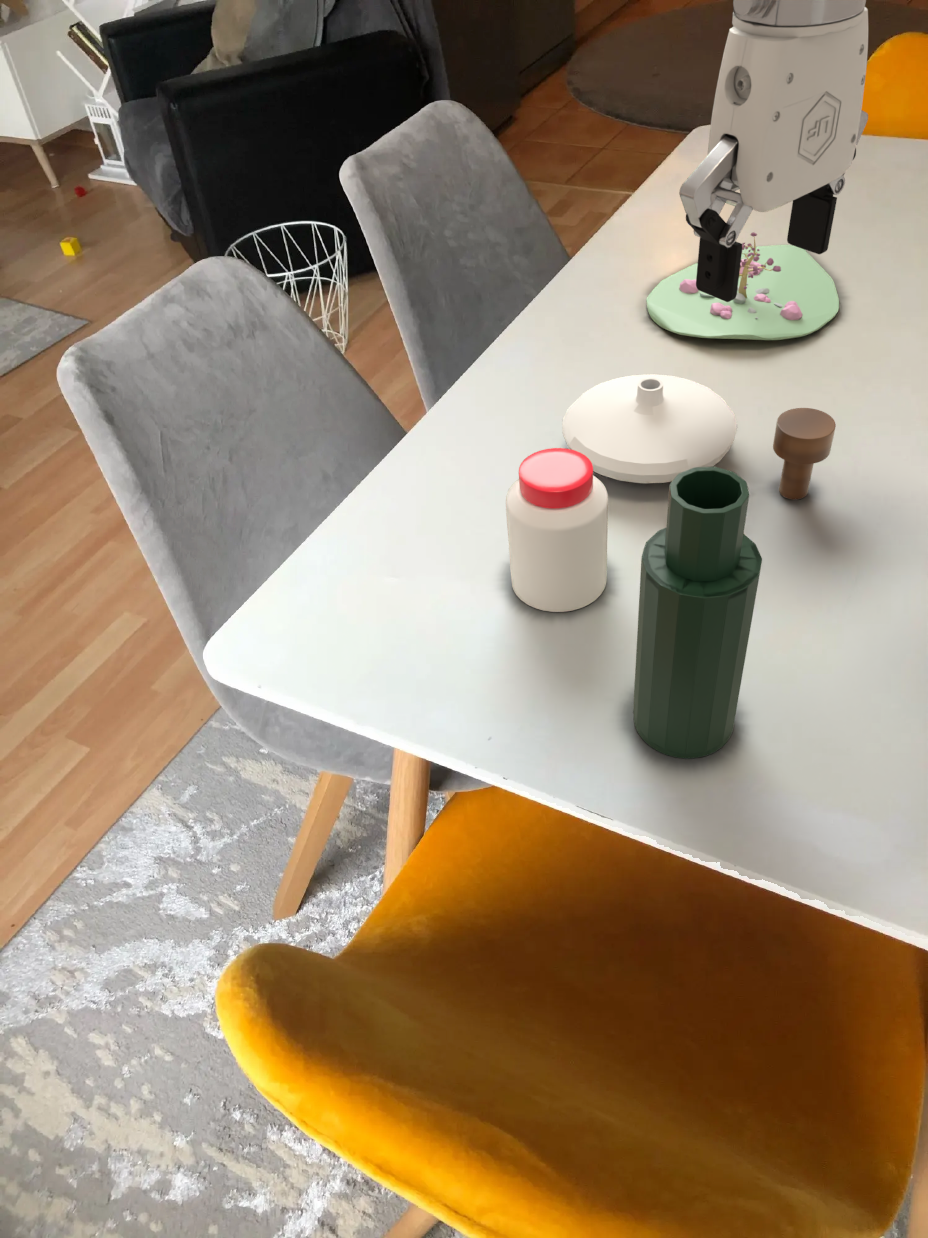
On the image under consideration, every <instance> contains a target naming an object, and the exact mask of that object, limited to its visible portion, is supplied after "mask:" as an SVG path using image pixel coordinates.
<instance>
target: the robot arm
mask: <svg viewBox="0 0 928 1238" xmlns="http://www.w3.org/2000/svg"><path fill="white" fill-rule="evenodd" d="M866 2H867V0H733V1H732V5H733V8H732V10H733V11H732V20H731V25H732V27H730V28H729V30H728V33H727V38H726V41H725V46H724V50H723V54H722V59H721V63H720V68H719V72H718V78H717V83H716V88H715V94H714V99H713V106H712V111H711V119H710V128H709V133H708V134H709V135H708V143H707V145H708V146H707V154H706V157H705V158H704V159H703V160H702V161H701V162H700V163H699V164H698V165H697V167H696V168H695V169H694V170H693V171H692V173H690V175H689V176H688V177H687V179H685V181H684V182H682V184H681V185H680V189H679V193H678V194H679V198H680V201H681V204H682V206H683V209H684V213H685V221H686V223H687V224H688V225H689V226H690V227H691V228H692V229H693V235H694V236H695V237H697V238H699V244H698V256H697V262H698V265H697V277H696V287H697V289H698V290H699V291H701V292H704V293H706V294H709V295H711V296H714V297H716V298H718V299H721V300H723V301H726V302H730V301H731V300H733V299H735V298H736V295H737V289H738V281H739V272H740V264H741V255H742V245H743V243H741V242H739V241H737V239H738V238H739V236H740V234H741V232H742V231H743V229H744V226H745V225H746V223H747V221H748V220H749V217H750V216H751V214H752V212H753V210H754V211H755V212H759V213H768V212H771V211H774V210H775V209H778V208H781V207H782V206H784V205H787V204H789V203H791V202H792V203H791V209H790V210H791V211H790V218H789V222H788V223H789V224H788V230H787V236H786V241H787V243H788V245H793V246H796V247H799V248H802V249H805V251H806V252H810V253H814V254H816V255H822V254H824V253H825V252H827V251H828V249H829V244H830V238H831V234H832V230H833V229H832V228H833V222H834V218H835V213H836V212H835V211H836V207H837V200H838V197H837V196H838V195H839V194H841V193H842V191H843V190H844V188H845V186H846V185H845V184H846V179H845V174H846V172H847V171H849V169H850V168H851V166H852V164H853V161H854V160H855V159H856V156H857V146H858V144H859V142H860V139H861V137H862V135H863V133H864V130H865V128H866V126H867V123H868V121H869V114H868V112H866V111H865V110H862V109H863V100H864V92H865V83H866V77H867V76H866V75H867V65H868V52H869V51H868V50H869V9H868V8H867V7H866ZM737 191H739V192H737ZM726 204H727V205H730V206H733V210H732V211H731V213H730V215H729V217H728V219H727V221H725V220H724V218H722V217H721V215H720V214H721V212H722V210H723V208H724V206H725V205H726Z"/></svg>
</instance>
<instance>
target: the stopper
mask: <svg viewBox="0 0 928 1238" xmlns="http://www.w3.org/2000/svg"><path fill="white" fill-rule="evenodd" d="M836 424H837V423H836V421H835V419H834V418H833V417H832V416H831V415H829V413H827V412H825V411H822V410H820V409H816V408H812V407H795V408H791V409H788V410H785V411H784V412H782V413H780V414H779V416H778V417H777V419H776V424H775V431H774V436H773V443H772V450H773V451H774V453H775V455H776V456H777V457H779V458H780V459H782V460H783V465H782V469H781V470H782V471H781V476H780V481H779V486H778V492H779V494H780V495H781V496H782V497H783V498H785V499H789V500H801V499H804V498H805V497H807V495H808V493H809V489H810V483H811V479H812V474H813V469H814V464H818V463H820V462H823V461H824V460H826V459H827V458H828V456H830V454H831V451H832V446H833V442H834V435H835V431H836V426H837V425H836Z"/></svg>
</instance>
